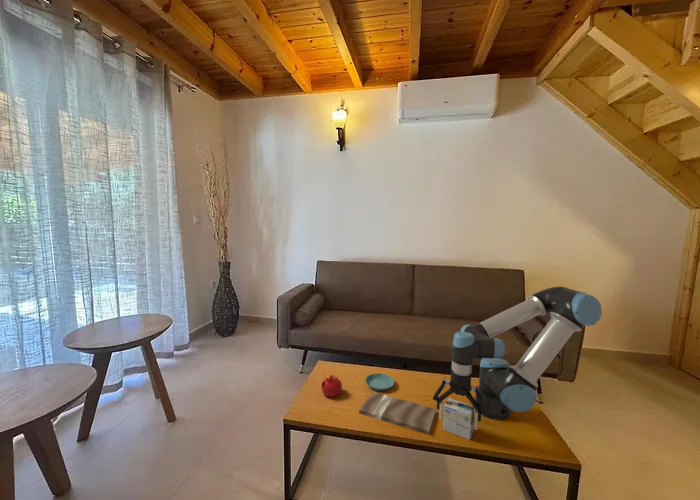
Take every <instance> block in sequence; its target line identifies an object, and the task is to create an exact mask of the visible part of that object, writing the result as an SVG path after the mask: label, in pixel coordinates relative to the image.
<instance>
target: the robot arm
mask: <svg viewBox="0 0 700 500" xmlns="http://www.w3.org/2000/svg"><path fill="white" fill-rule="evenodd" d="M548 314H550V319H549V320H548V322H547V323H546V325H545V326H544V327H543V329H542V330H541V332H539V334H538V335H537V337H536V338H535V339H534V341H533V342H532V343H531V344H530V346H529V347H528V348H527V349H526V351H525V352H524V354H523V355H522V356H521V358H520V359H519V360H518V361H517V363H516V364H515V365H510V362H508V361H507V360H506V359H503V357H504V355H505V353H506V347H505V343H504V341H503V340H502V339H500V338H496V336H498V335H500V334H502V333H504V332H506V331H508V330H509V331H510V330H511V329H512V328H515V327H516V326H520V325H521V324H523V323H525V322H527V321H529V320H531V319H533V318H535V317H537V316H545V315H548ZM602 314H603V309H602V304H601V303H600V301H599V299H597V297H596V296H594V295H591V294H589V293H586V292H583V291H579V290H575V289H572V288H569V287H565V286H553V287H549V288H546V289H545V288H544V289H542V290H540V291H538V292H535V293H533V294H531V295H529V296H528V299H526V300H523V301H522V302H520V303H518V304H516V305H513V306H511V307H510V308H507V309H506V310H504V311H501V312H499V313H497V314H495V315H493V316H491V317H489V318H487V319H484V320H482V321H481V322H478V323H476V324H475V325H473V324H465V325H463V326H462V327H461V329H460V331H457V332H455V333H454V336H453V341H452V357H451V358H452V359H451V370H450V371H451V372H450V379H449V380H447V378H445V377H443V378H442V380H441V384H440V386H439V387H438V388H437V390H436V391H435V392H434V394H433V397H432V400H433V401H436V411H438V420H442V416H443V415H442V414H443V405H444V404H443V403H444V402H443V401H444V400H445V399H446V398H449V397H450V396H451V395H452V394H455V395H459V396H462V397H466V399H467V400H468V401H469V402H470V405H473V407H474V410H475V417H474V431H477V430H478V422H481V421H482V416H484V417H486V418H489V419H494V420H499V421H500V420H506V419H508V418H510V417H511V411H514V412H516V413H521V412H523V413H525V412H527V411H530V410H531V409H532V408H534V406H535V405H536V403H537V394H536V391H537V389H538V388H539V385H538V380H539V379H540V378H541V376H542V375H543V374H544V372H545V371H546V369H548V367H549V366H550V364H551V363H552V361H553V360H554V359H555V358H556V356H557V355H558V353H559V352H560V351H561V350H562V348H564V346H565V345H566V343H567V342H568V340H569V339H570V338H571V337H572V335H573V334H574V333H576V332H581V331H582V330H583V329H584V327H585V326H586V327H589V326H594V325H596V324H597V323H598V322H599V321H600V320H601V317H602ZM474 359H480V364H479V378H478V379H479V380H478V385H476V386H472V371H473V361H474ZM446 386H449V389H447V390H446V391H445V392H444V393H442V394H441V392H442V391H443V390H444V388H445V387H446ZM471 391H473V393H474V394H475V397H473V395H472V393H471ZM440 394H441V395H440Z"/></svg>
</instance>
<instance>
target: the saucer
mask: <svg viewBox="0 0 700 500" xmlns="http://www.w3.org/2000/svg"><path fill="white" fill-rule="evenodd" d="M364 380H365V381H364V382H365V383H366V385H367V386H368V387H369V388H370V389H372V390H374V391H378V392H384V391H387V390H390V389H391V388H392V387H393V386H394V384H395V380H394V379H393V377H391V376H390V375H388V374H385V373H372V374H371V373H370V374H368V375H367V376H366V377H365V379H364Z"/></svg>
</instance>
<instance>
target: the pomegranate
mask: <svg viewBox="0 0 700 500" xmlns="http://www.w3.org/2000/svg"><path fill="white" fill-rule="evenodd" d="M328 376H329V377H328V378H327V377H325V378H324V379H323V380H322V382H321V391H322V393H323V395H324V396H326V397H329V398H335V397H336V396H339V394H340V393H341V391H342V387H343V383H342V381H341V380H340V378H338V377H336V375H334V376H333V375H332V374H331V375H328Z"/></svg>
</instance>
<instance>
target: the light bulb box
mask: <svg viewBox="0 0 700 500" xmlns="http://www.w3.org/2000/svg"><path fill="white" fill-rule="evenodd" d="M447 398H448V399H446V401H445V402H444V404H443V415H442V416H443V417H442V418H443V420H442V430H443V431H446V432H448V433H451V434H453V435H456V436H458V437H461V438H464V439H467V440H469V441H470V439H471V437H472V436H473V432H474V429H475V408H474V407H473V405H472V404H471V403H470V404H469V403H466V402H462V401H460V400H456V399H453V398H450V397H447Z"/></svg>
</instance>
